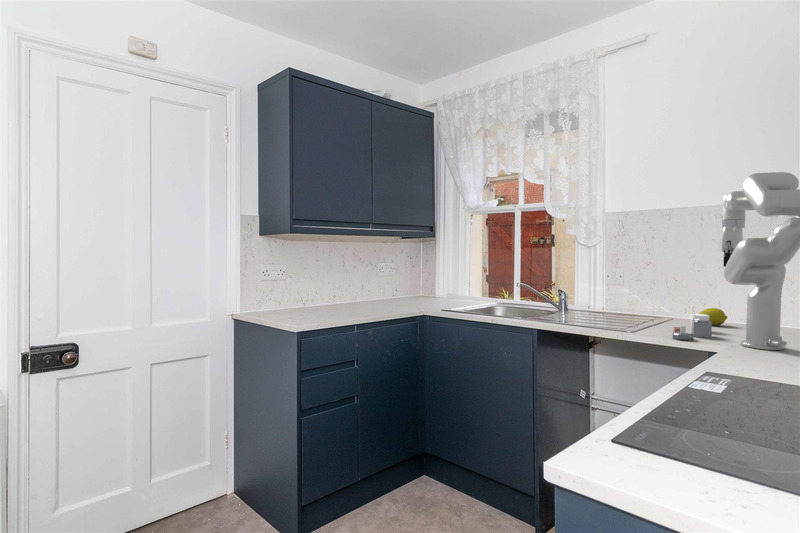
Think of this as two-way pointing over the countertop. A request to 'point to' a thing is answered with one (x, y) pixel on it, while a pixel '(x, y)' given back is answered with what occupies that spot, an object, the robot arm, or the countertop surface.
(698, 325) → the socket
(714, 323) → the lemon
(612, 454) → the countertop surface
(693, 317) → the white cup
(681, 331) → the toy boat
